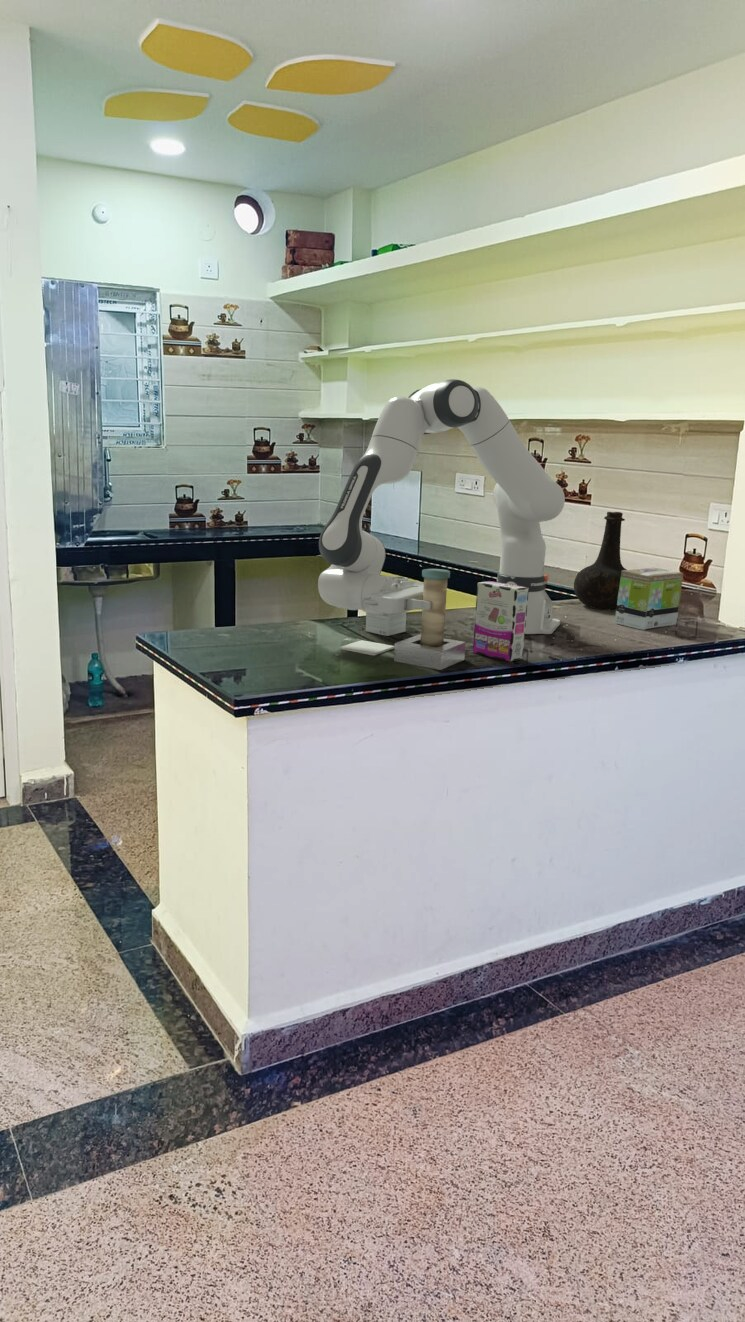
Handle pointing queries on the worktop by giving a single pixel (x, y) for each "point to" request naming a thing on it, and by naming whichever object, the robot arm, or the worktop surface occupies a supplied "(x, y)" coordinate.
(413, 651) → the metal collar
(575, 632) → the worktop surface
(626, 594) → the tea box
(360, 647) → the white mat
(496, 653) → the candy bar box
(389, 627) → the supplement box
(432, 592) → the birch stopper
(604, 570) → the glass bottle
